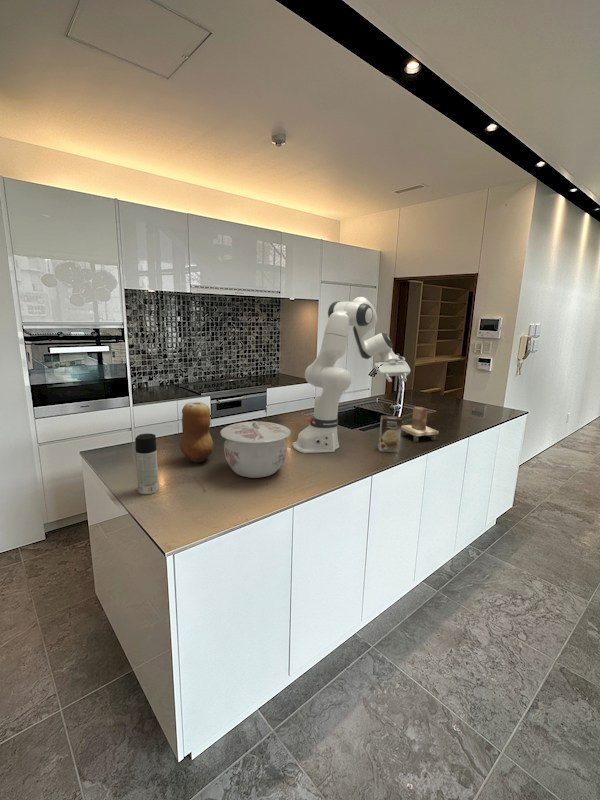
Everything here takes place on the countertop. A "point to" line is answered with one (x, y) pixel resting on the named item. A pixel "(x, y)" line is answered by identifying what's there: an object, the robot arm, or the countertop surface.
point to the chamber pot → (255, 447)
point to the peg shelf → (418, 432)
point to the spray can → (147, 463)
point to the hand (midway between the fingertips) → (397, 381)
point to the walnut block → (419, 418)
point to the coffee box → (390, 433)
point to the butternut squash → (196, 432)
